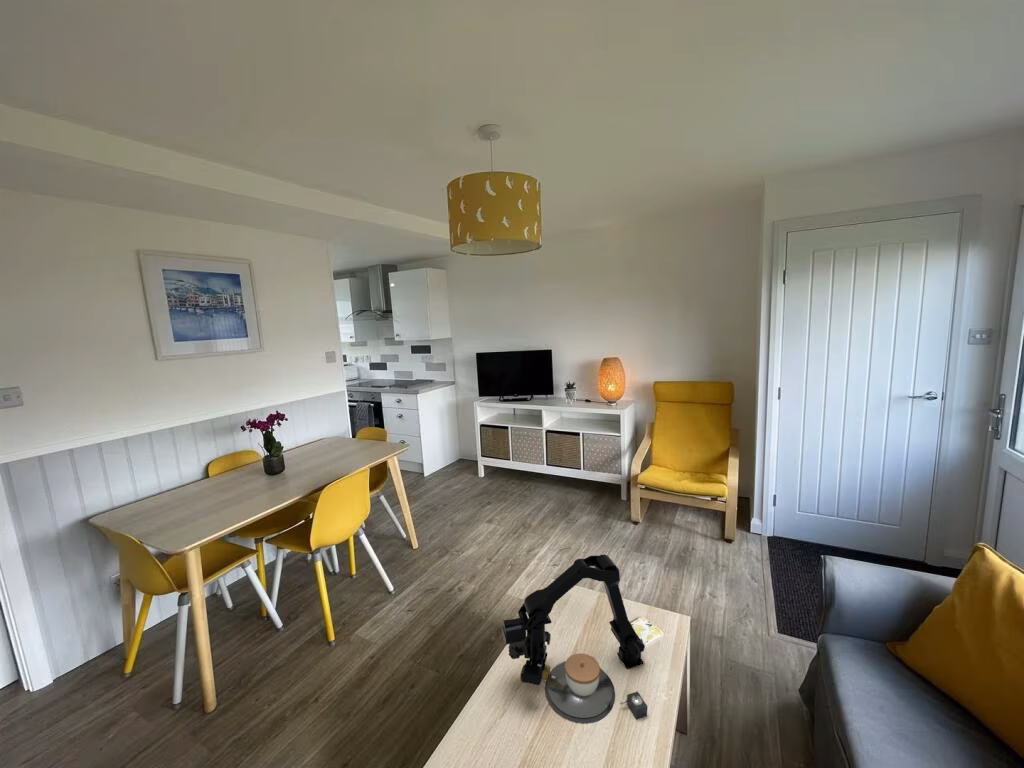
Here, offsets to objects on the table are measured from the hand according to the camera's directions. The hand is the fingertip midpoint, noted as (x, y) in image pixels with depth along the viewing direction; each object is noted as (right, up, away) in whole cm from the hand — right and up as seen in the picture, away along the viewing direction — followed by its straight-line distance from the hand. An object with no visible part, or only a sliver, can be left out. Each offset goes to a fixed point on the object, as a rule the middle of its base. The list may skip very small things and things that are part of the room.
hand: (536, 678), depth 136 cm
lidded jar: (+14, -2, -2) cm, 14 cm away
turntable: (+11, -1, -2) cm, 11 cm away
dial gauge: (+28, -3, -10) cm, 29 cm away
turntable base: (+13, -2, -2) cm, 14 cm away
